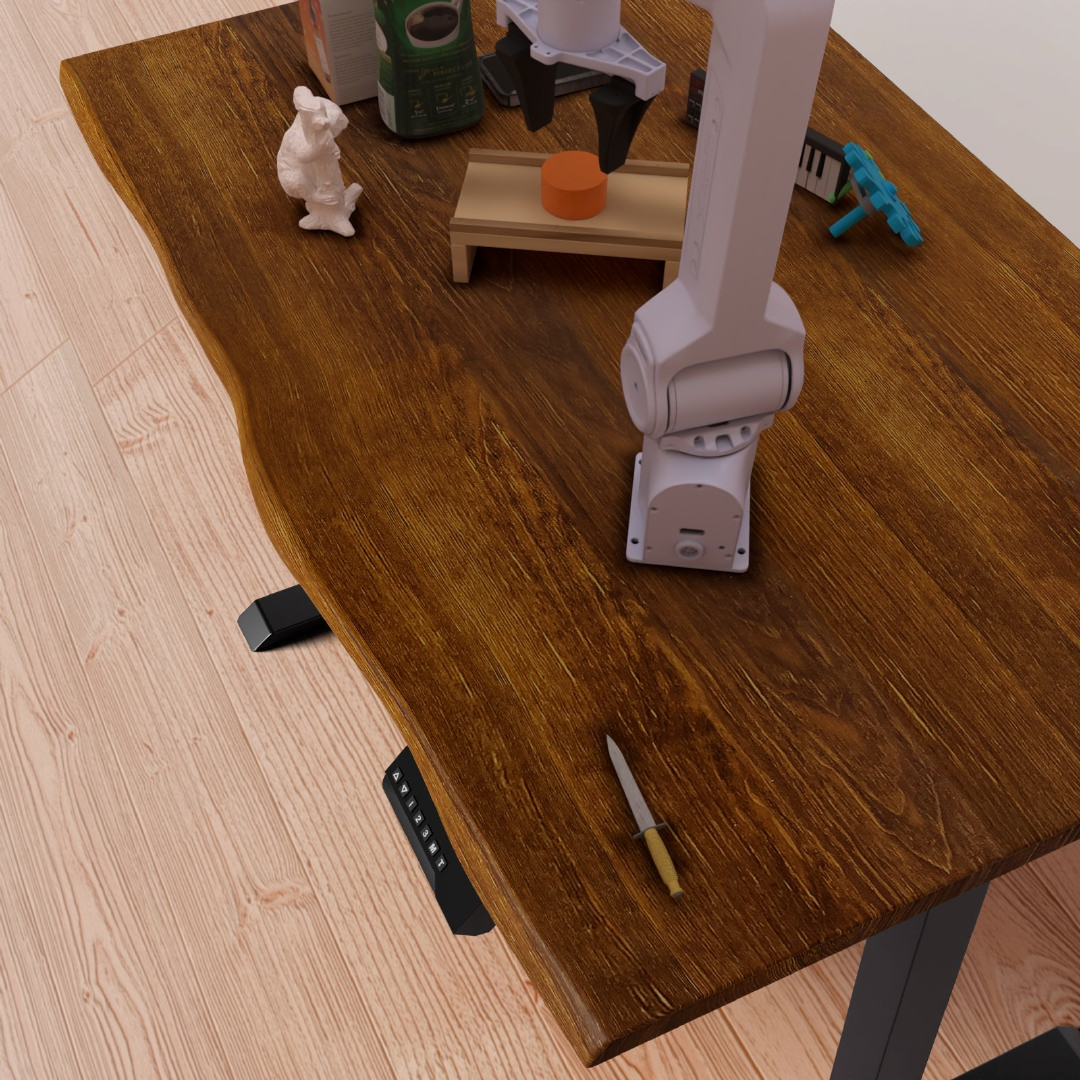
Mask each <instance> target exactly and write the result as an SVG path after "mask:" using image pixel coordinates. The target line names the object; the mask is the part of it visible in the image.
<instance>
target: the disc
mask: <svg viewBox="0 0 1080 1080" xmlns="http://www.w3.org/2000/svg"><path fill="white" fill-rule="evenodd" d="M554 154H555V155H553V156H551V157H549V158H548V159H547V160H546V161H545V162H544V163H543V165H542V168H541V202H542V205H543V207H544V208H545V210H546V211H547V212H549V213H550V214H552V215H554V216H556V217H558V218H562V219H566V220H582V219H587V218H590V217H593V216H595V215H597V214H598V213H600V212H601V211H602V210H603V209H604V207H605V205H606V202H607V184H608V174H605V173H603V172H601V171H600V166H599V157H598V155H596V154H594V153H592V152H588V151H584V150H565V151H561V152H558V153H554Z"/></svg>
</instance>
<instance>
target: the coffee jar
mask: <svg viewBox="0 0 1080 1080" xmlns="http://www.w3.org/2000/svg"><path fill="white" fill-rule="evenodd" d="M373 5H374V13H375V23H376V42H377V86H378V96H377V99H378V108H379V112H380V115H381V118H382V122H384V125H385V126H386V127H387V128H388V129H389V131H391V132H392V133H393V134H395V135H397V136H399V137H402V138H404V139H409V140H416V139H417V140H418V139H424V138H425V139H426V138H432V137H436V136H437V137H438V136H441V135H446V134H451V133H455V132H459V131H462V130H465V129H469V128H471V127H473V126H475V125H477V124H478V123H479V122H480V121H481V119H483V117H484V115H485V111H486V103H485V101H486V100H485V93H484V84H483V79H482V78H481V73H480V67H479V62H478V57H479V55H478V51H477V46H476V39H475V33H474V25H473V18H472V7H471V0H373Z"/></svg>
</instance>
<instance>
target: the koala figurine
mask: <svg viewBox="0 0 1080 1080" xmlns="http://www.w3.org/2000/svg"><path fill="white" fill-rule="evenodd" d="M292 96H293V98H292V102H293V104H294V107H295V110H296V111H298V112H297V114H296V115H295V118H294V120H293V123H292V124H291V125H290V127H289V128H288V129H287V130H286V131H285V133H284V135H283V138H282V141H281V144H280V147H279V150H278V152H277V155H276V168H277V178H278V180H279V182H280V186H281V187H282V189H283V191H284V192H285V194H287V195H288V196H289V197H293V198H294V199H303V200H304V201H305V203H304V205H305V209H306V211H307V212H308V213H309V214H308V215H306V216H304V217H302V218H301V219H300V220H299V221H298V226H299V227H300V228H302V229H304V230H325V231H327V230H328V231H332V232H334V233H337V234H339V235H341V236H343V237H352V236H354V235H355V232H356V230H355V229H354V227H353V225H352V223H351V222H350V220H349V219H350V217H351V216H352V213H353V212H354V211H355V210H356V203H357V201H358V199H359V198H360V196H361V194H362V193H363V191H364V188H363V187H362V185H359V183H358V182H353V183H352V184H350V185H349V186H348V187H347V186H346V185H344V184H345V182H344V180H343V177H342V171H341V168H340V163H339V160H340V159H341V150H340V147H339V146H338V144H337V143H336V141H335V139H336V137H339V135H340V134H341V132H342V131H343V130H345V129H347V127H348V124H349V119H348V117H347V116H346V115H345V114H344V113H343V110H342V109H341V108H340V106H338V105H336V104H335V103H333V102H332V100H331V99H327V98H326V97H321V96H314V94H313V92H312V91H311V89H309V88H308V87H307V86H306V85H305V86H304V85H298V86H296V88H294V90H293V94H292ZM346 187H347V188H346Z"/></svg>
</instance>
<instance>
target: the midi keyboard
mask: <svg viewBox="0 0 1080 1080" xmlns="http://www.w3.org/2000/svg"><path fill="white" fill-rule="evenodd" d="M706 73H707V70H706V71H705V70H703V69H702V68H700V67H698V68H697V69H695V70H693V71H692V72H690V75H689V84H688V94H687V102H686V103H687V104H686V112H685V123H686V124H688V125H690V126H692V127H693V128H695V129H697V130H698V131H699V123H700V116H701V109H702V102H703V95H704V87H705V80H706ZM845 146H846V145H843V144H842V143H840V142H838V141H836V140H834V139H832V138H831V137H828V136H827V135H825V134H823V133H821V132H820V131H817V129H814V128H812V127H810V126H807V130H806V134H805V139H804V143H803V148H802V152H801V157H800V161H799V165H798V170H797V174H796V179H795V183H794V184H796V185H798V186H800V187H801V188H803V189H805V190H807V191H809V192H810V193H812V194H814V195H816V196H818V197H819V198H821V199H823V200H824V201H826V202H829V203H830V204H831V206H832V207H836V206H837V205H839V204H841V203H842V202H843V201H844V198H845V195H843V196H842V197H841V198H839V199H837V198H838V195H839V193H840V191H841V189H842V188H843V186H844V185H845V184H846V182H847V181H849V177H848V175H849V173H850V172H851V169H852V167H851V166H850V165H849V164H848V163H847V161H846V160H845V156H846V153H845V152H844V150H843V148H844V147H845ZM832 193H834V196H835V201H834V203H833V204H832V203H831V202H830V201H829V199H828V196H829V195H830V194H832Z"/></svg>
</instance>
